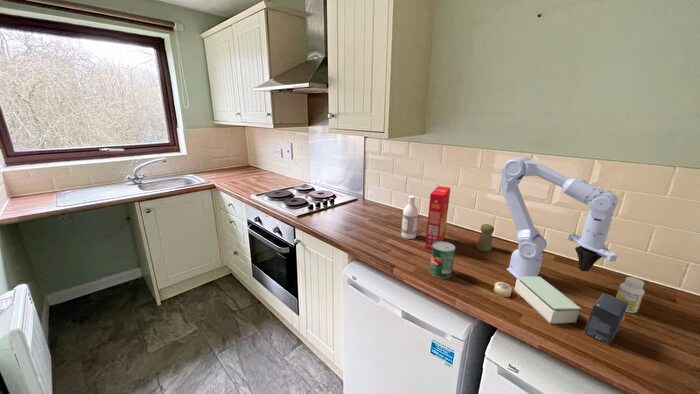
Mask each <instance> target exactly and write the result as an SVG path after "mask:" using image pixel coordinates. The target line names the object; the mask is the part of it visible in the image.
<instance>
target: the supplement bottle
mask: <svg viewBox="0 0 700 394" xmlns="http://www.w3.org/2000/svg"><path fill="white" fill-rule="evenodd" d="M644 287H645V282H644V280H641V279H639V278H637V277H633V276H626V278H625V280H624V282H622V283H620V284H619V287H618V290H617V293H616V296H615V297H616V298H618V299H621V300H623V301H626V302H628V306H627V309H626V311H625V313H631V314H635V313H638V311H639V309H640V306H641V304H642V301H643V298H644V295H645V289H644Z"/></svg>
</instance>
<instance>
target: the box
mask: <svg viewBox="0 0 700 394" xmlns="http://www.w3.org/2000/svg"><path fill="white" fill-rule="evenodd" d="M627 306H628V302H626V301H623V300H621V299H618V298H616V296H612V295H610V294H608V293H605V292H603V293H602V294H601V296H600V297H599V298H598V299H596V301H595V303H594V304H593V305H592V307H591V310H590V314H589V317H588V320H587V322H586V326H585V328H584V331H583V334H585V335H587V336H589V337H591V338H593V339H595V340H598V341H599V342H600V343H603V344H605V345H607V346H610V344H611V343H612V341H613V339H614V338H615V336H616V334H617V333H618V332H619V329H620V327H621V324H622V321H623V319H624V317H625V314H626V309H627Z"/></svg>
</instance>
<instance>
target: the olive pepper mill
mask: <svg viewBox="0 0 700 394" xmlns="http://www.w3.org/2000/svg"><path fill="white" fill-rule="evenodd" d="M494 231H495V228H494V226H493V225H492V224H489V223H484V224H481V226H480V234H479V239H478V242H477V245H476V248H477V249H478V250H479V251H481V252H491V251H492V247H493V246H492V243H493V238H492V237H493V233H494Z"/></svg>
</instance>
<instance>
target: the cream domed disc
mask: <svg viewBox="0 0 700 394" xmlns="http://www.w3.org/2000/svg"><path fill="white" fill-rule="evenodd" d="M512 290H513V287H512V286H511V285H510V284H508V283H507V282H503V281H496V282H495V283H494V288H493V291H494V293H495V294H496V295H498V296H500V297H503V298H509V297H510V296H512V295H511V294H512Z"/></svg>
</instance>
